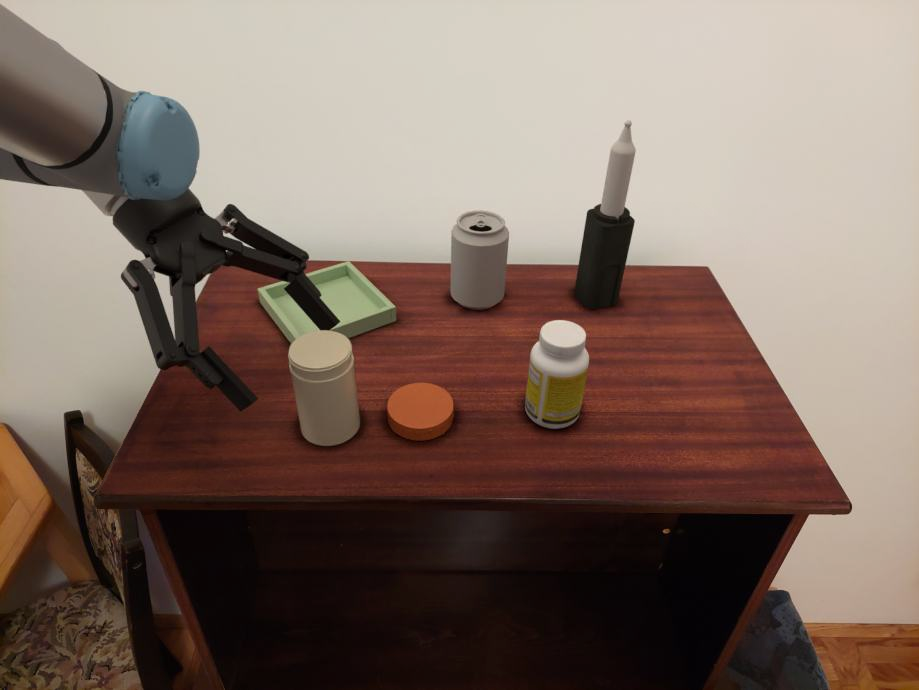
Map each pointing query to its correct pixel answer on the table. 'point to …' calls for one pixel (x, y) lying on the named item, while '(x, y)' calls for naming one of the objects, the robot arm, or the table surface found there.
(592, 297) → the candle
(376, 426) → the table surface
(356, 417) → the jar
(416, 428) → the lid
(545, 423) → the pill bottle
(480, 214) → the can
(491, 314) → the table surface
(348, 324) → the tray
